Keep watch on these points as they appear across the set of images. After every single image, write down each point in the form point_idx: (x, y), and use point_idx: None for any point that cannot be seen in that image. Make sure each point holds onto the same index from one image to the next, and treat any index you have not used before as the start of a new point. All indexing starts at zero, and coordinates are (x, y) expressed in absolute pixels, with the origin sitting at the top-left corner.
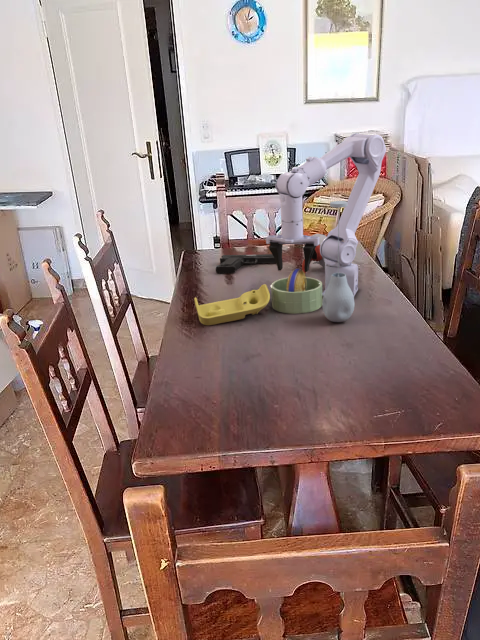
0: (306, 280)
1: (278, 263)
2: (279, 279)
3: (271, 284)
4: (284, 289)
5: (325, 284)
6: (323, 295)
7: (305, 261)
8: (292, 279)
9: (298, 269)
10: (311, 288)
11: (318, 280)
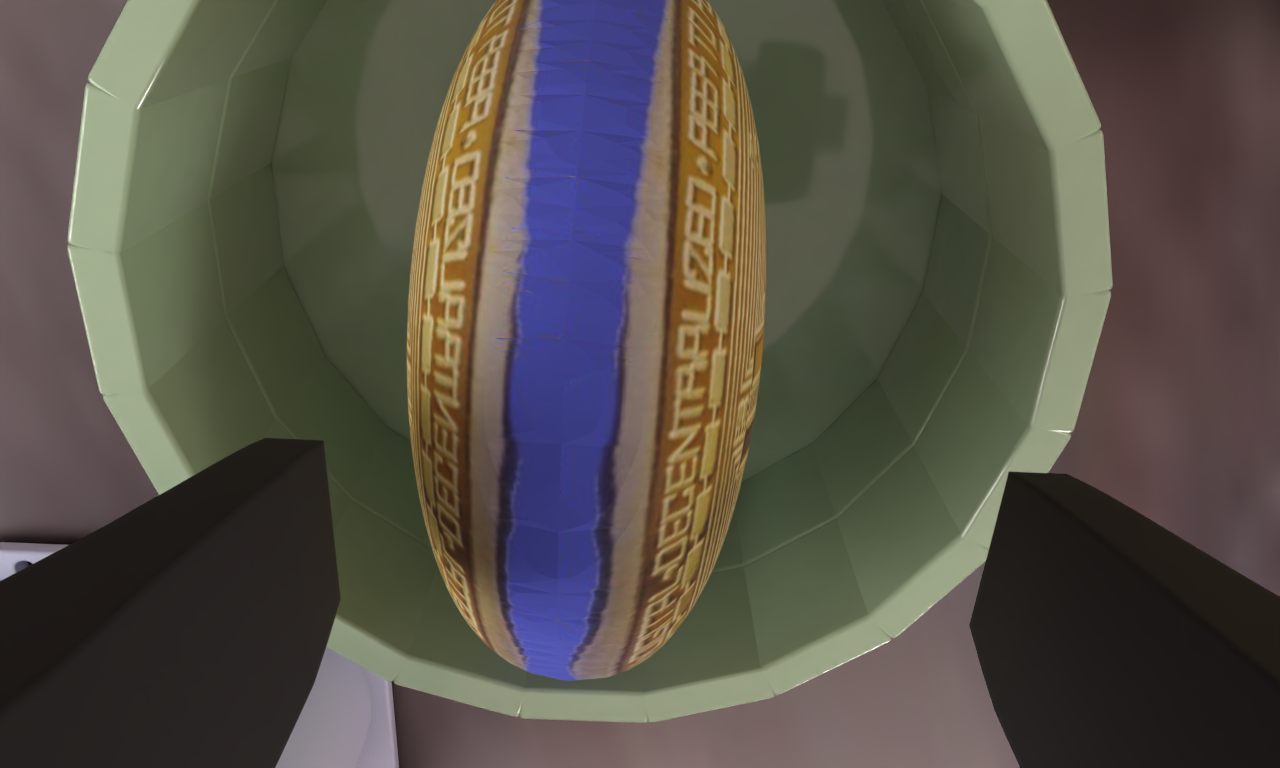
0: None
1: (1151, 561)
2: (972, 562)
3: (1104, 271)
4: (852, 491)
5: (322, 722)
6: None
7: (111, 575)
8: (591, 102)
9: (517, 535)
10: None
11: None
